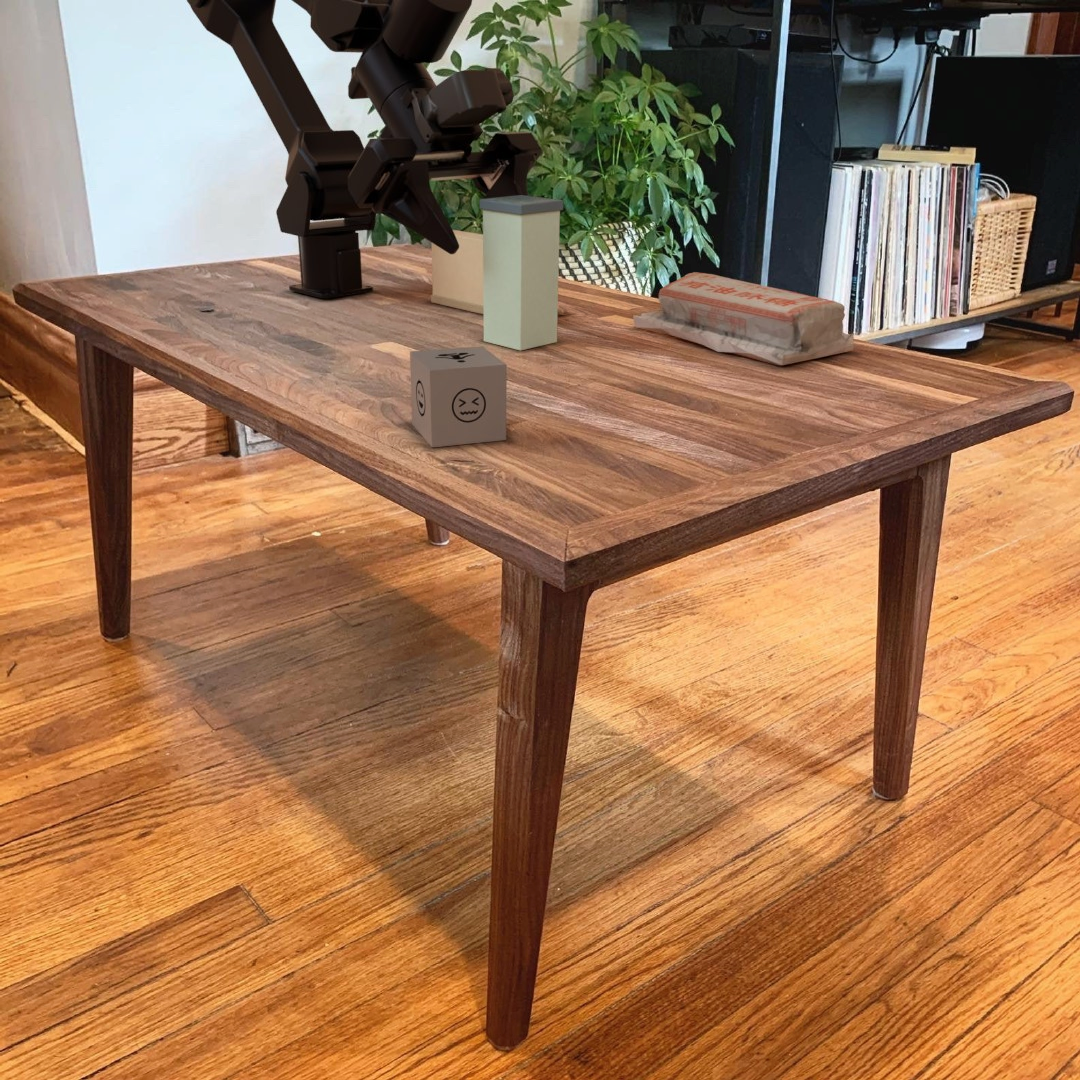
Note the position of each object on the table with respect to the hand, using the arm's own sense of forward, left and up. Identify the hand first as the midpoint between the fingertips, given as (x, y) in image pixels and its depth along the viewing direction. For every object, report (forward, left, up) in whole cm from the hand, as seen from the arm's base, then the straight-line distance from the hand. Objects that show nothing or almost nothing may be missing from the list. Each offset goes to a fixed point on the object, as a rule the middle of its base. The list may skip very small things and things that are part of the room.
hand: (494, 245), depth 94 cm
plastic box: (+3, 0, -8) cm, 9 cm away
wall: (-8, +7, -8) cm, 13 cm away
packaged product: (+16, +15, -8) cm, 23 cm away
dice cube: (+18, -21, -8) cm, 29 cm away
